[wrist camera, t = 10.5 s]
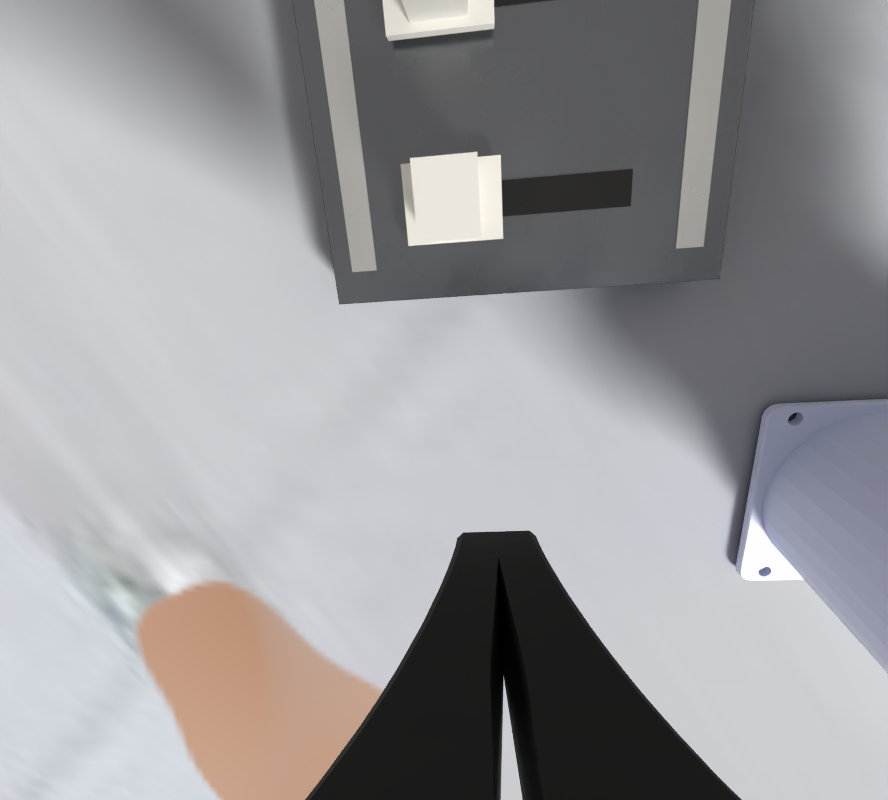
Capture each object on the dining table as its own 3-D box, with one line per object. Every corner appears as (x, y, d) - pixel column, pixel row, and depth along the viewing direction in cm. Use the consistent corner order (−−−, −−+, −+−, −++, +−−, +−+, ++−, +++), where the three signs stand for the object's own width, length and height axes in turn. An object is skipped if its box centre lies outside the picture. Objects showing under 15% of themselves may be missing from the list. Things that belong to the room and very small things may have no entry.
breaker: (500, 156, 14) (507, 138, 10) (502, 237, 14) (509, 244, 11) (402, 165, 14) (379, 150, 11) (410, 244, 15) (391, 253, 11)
